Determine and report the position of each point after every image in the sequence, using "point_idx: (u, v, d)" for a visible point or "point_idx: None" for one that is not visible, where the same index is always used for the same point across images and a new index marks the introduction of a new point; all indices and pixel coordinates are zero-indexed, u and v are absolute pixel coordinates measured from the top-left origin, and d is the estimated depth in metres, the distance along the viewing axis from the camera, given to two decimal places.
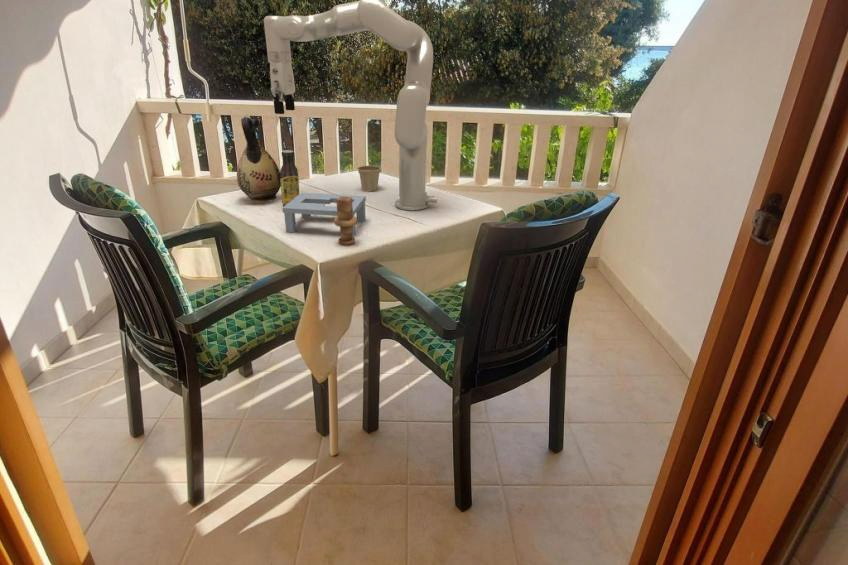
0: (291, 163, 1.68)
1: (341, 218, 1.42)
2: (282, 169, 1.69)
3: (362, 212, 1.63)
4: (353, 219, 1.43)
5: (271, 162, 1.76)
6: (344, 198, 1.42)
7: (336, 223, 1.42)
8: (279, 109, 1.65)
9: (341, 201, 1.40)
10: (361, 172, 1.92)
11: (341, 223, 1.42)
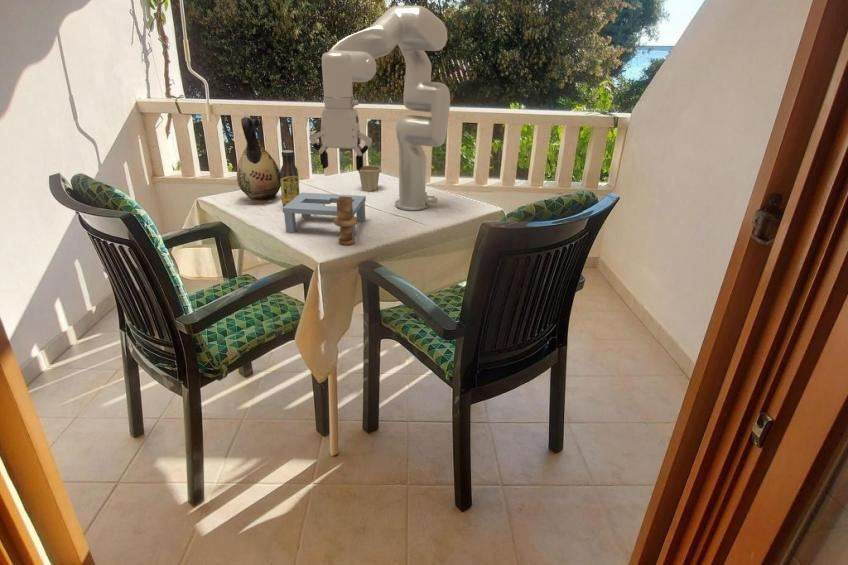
0: (291, 163, 1.68)
1: (341, 218, 1.42)
2: (282, 169, 1.69)
3: (362, 212, 1.63)
4: (353, 219, 1.43)
5: (271, 162, 1.76)
6: (344, 198, 1.42)
7: (336, 223, 1.42)
8: (362, 163, 1.37)
9: (341, 201, 1.40)
10: (361, 172, 1.92)
11: (341, 223, 1.42)
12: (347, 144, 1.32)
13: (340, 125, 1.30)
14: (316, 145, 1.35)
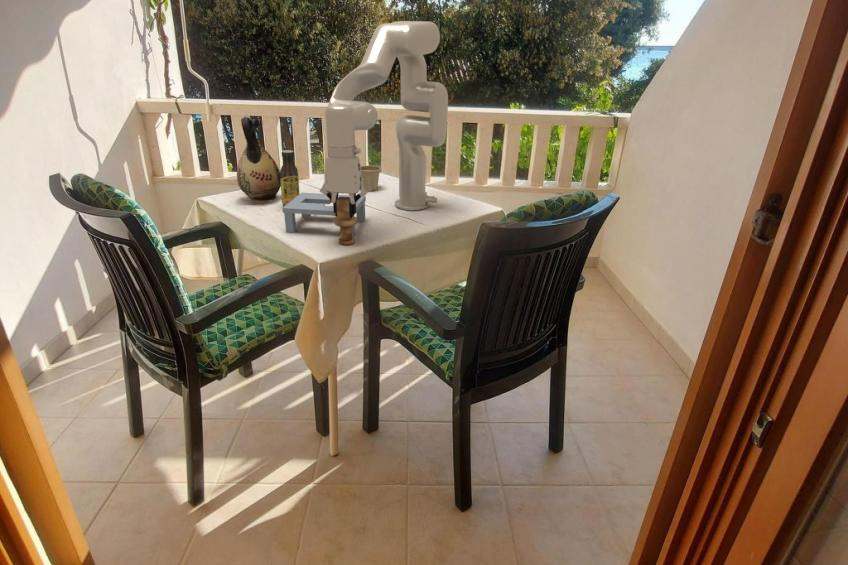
0: (291, 163, 1.68)
1: (341, 218, 1.42)
2: (282, 169, 1.69)
3: (362, 212, 1.63)
4: (353, 219, 1.43)
5: (271, 162, 1.76)
6: (344, 197, 1.42)
7: (336, 223, 1.42)
8: (355, 210, 1.43)
9: (341, 201, 1.40)
10: None
11: (341, 223, 1.41)
12: (349, 190, 1.38)
13: (343, 172, 1.35)
14: (329, 195, 1.41)
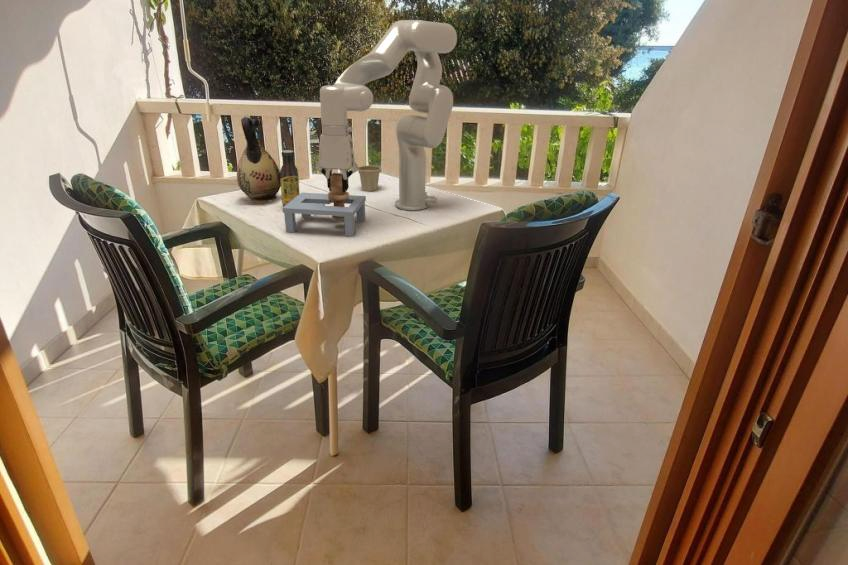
0: (291, 163, 1.68)
1: (334, 193, 1.53)
2: (282, 169, 1.69)
3: (362, 212, 1.63)
4: (346, 194, 1.54)
5: (271, 162, 1.76)
6: (337, 174, 1.52)
7: (330, 197, 1.53)
8: (348, 186, 1.54)
9: (334, 176, 1.50)
10: (361, 172, 1.92)
11: (335, 198, 1.52)
12: (342, 166, 1.48)
13: (336, 149, 1.46)
14: (323, 171, 1.51)
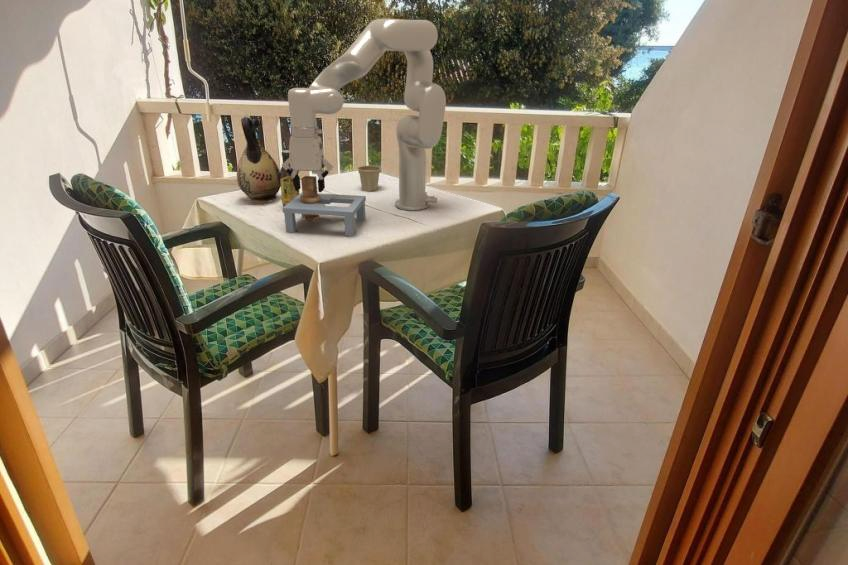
0: None
1: (306, 196, 1.55)
2: (282, 169, 1.69)
3: (362, 212, 1.63)
4: (317, 197, 1.55)
5: (271, 162, 1.76)
6: (309, 177, 1.54)
7: (301, 200, 1.55)
8: (324, 186, 1.55)
9: (305, 180, 1.52)
10: (361, 172, 1.92)
11: (306, 200, 1.54)
12: (312, 167, 1.50)
13: (305, 151, 1.47)
14: (289, 170, 1.53)
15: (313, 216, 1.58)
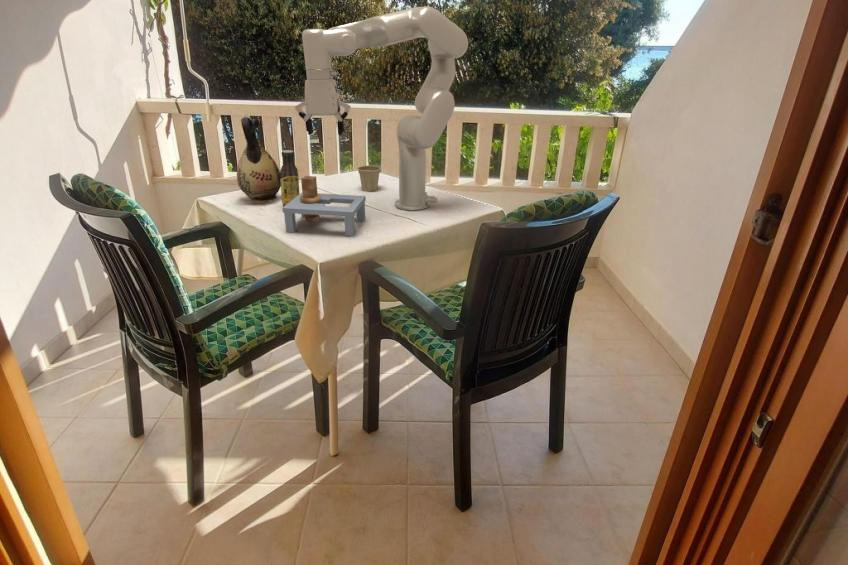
0: (291, 163, 1.68)
1: (306, 196, 1.55)
2: (282, 169, 1.69)
3: (362, 212, 1.63)
4: (317, 197, 1.55)
5: (271, 162, 1.76)
6: (309, 177, 1.54)
7: (301, 200, 1.55)
8: (343, 128, 1.54)
9: (305, 180, 1.52)
10: (361, 172, 1.92)
11: (306, 200, 1.54)
12: (328, 111, 1.50)
13: (321, 94, 1.47)
14: (301, 113, 1.52)
15: (313, 216, 1.58)
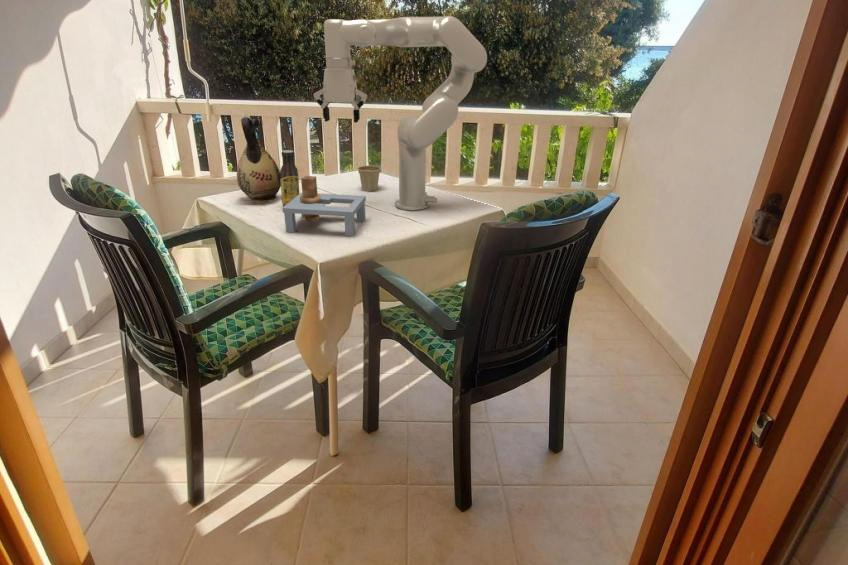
0: (291, 163, 1.68)
1: (306, 196, 1.55)
2: (282, 169, 1.69)
3: (362, 212, 1.63)
4: (317, 197, 1.55)
5: (271, 162, 1.76)
6: (309, 177, 1.54)
7: (301, 200, 1.55)
8: (359, 117, 1.60)
9: (305, 180, 1.52)
10: (361, 172, 1.92)
11: (306, 200, 1.54)
12: (345, 99, 1.55)
13: (340, 82, 1.53)
14: (319, 101, 1.58)
15: (313, 216, 1.58)
